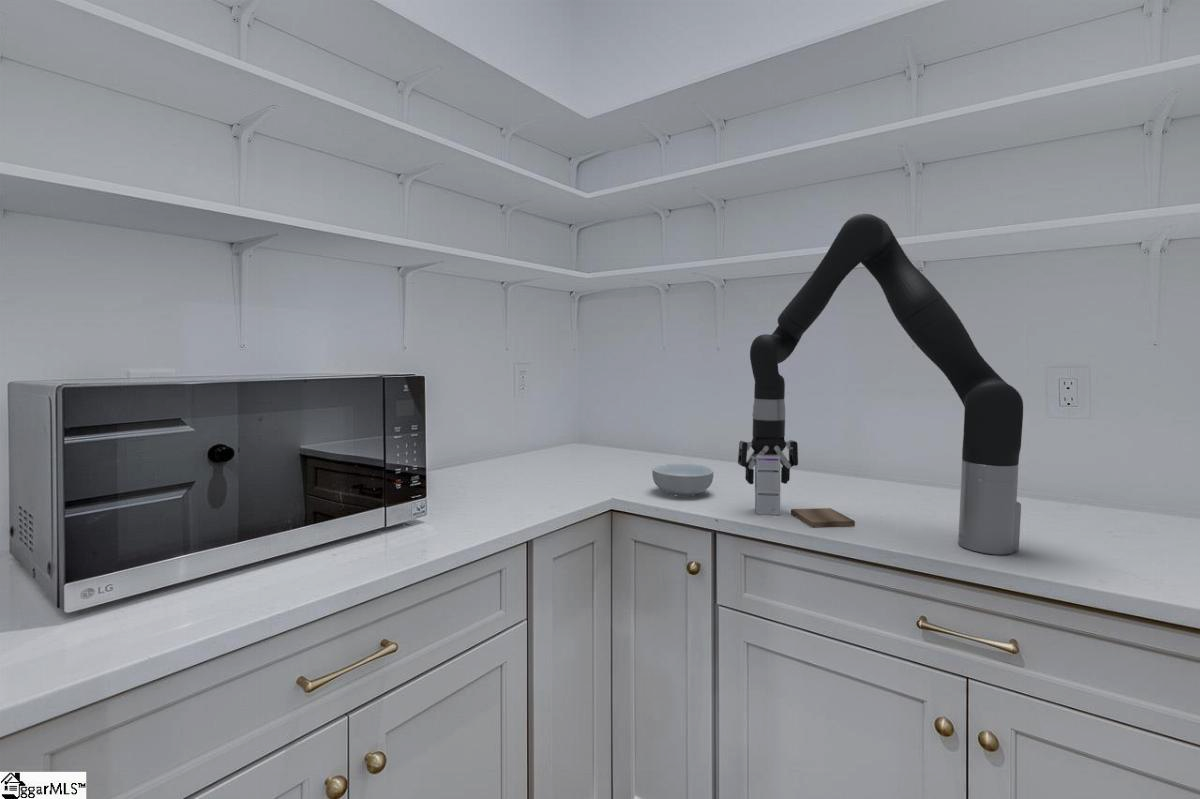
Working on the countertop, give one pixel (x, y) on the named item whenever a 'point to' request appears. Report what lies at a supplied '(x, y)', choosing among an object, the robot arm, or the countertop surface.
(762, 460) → the syrup box
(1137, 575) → the countertop surface
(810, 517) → the walnut board
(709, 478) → the cereal bowl
